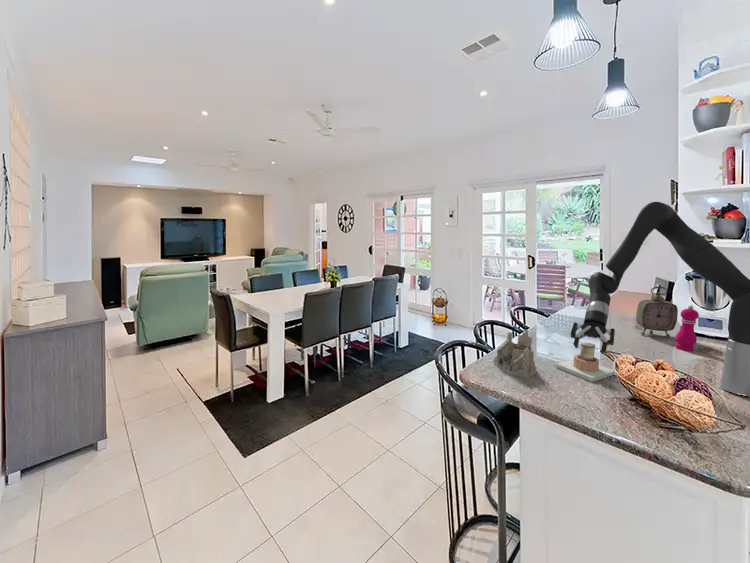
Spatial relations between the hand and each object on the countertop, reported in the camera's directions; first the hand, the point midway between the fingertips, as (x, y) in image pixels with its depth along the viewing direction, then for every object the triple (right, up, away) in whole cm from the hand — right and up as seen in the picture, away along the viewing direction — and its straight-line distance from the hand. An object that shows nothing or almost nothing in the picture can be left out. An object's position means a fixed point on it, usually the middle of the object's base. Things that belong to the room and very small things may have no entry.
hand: (588, 349), depth 132 cm
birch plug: (-2, -6, -2) cm, 7 cm away
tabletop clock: (+61, -1, +45) cm, 76 cm away
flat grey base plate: (-2, -8, -1) cm, 8 cm away
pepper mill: (+58, -5, +25) cm, 63 cm away
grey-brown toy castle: (-28, -7, +1) cm, 29 cm away
